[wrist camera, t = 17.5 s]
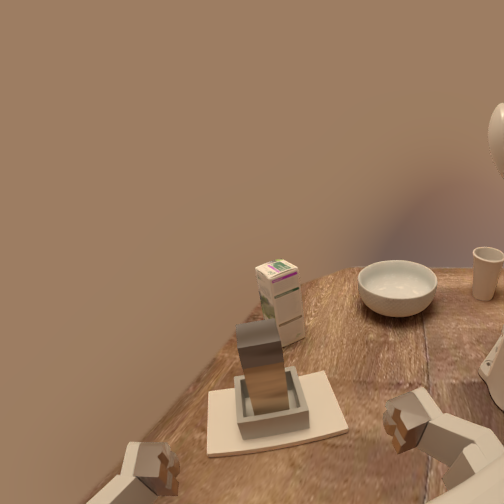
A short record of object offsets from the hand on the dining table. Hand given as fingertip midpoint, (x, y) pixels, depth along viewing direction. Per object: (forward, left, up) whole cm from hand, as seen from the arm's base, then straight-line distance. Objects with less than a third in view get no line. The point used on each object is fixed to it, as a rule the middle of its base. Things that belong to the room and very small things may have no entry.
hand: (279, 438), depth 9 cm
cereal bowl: (-46, -18, -25) cm, 55 cm away
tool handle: (-11, -17, -23) cm, 31 cm away
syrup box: (-25, -30, -25) cm, 46 cm away
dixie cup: (-61, -1, -25) cm, 66 cm away
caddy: (-11, -17, -24) cm, 32 cm away
